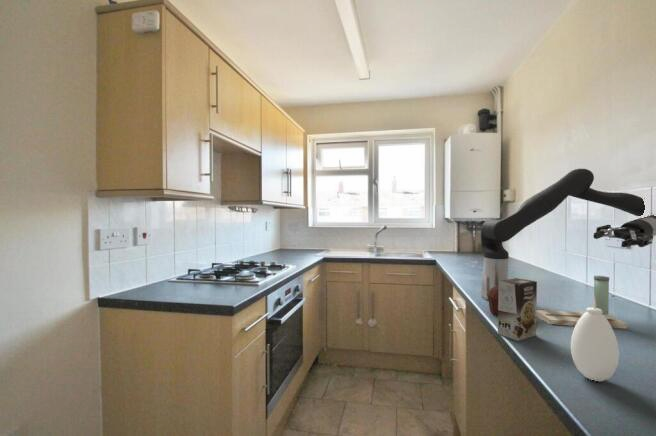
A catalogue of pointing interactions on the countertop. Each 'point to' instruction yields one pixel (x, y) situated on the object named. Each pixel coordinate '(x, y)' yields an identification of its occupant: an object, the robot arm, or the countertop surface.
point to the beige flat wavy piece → (571, 318)
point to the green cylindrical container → (602, 295)
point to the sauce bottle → (594, 345)
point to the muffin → (493, 299)
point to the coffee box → (517, 308)
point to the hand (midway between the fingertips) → (608, 240)
